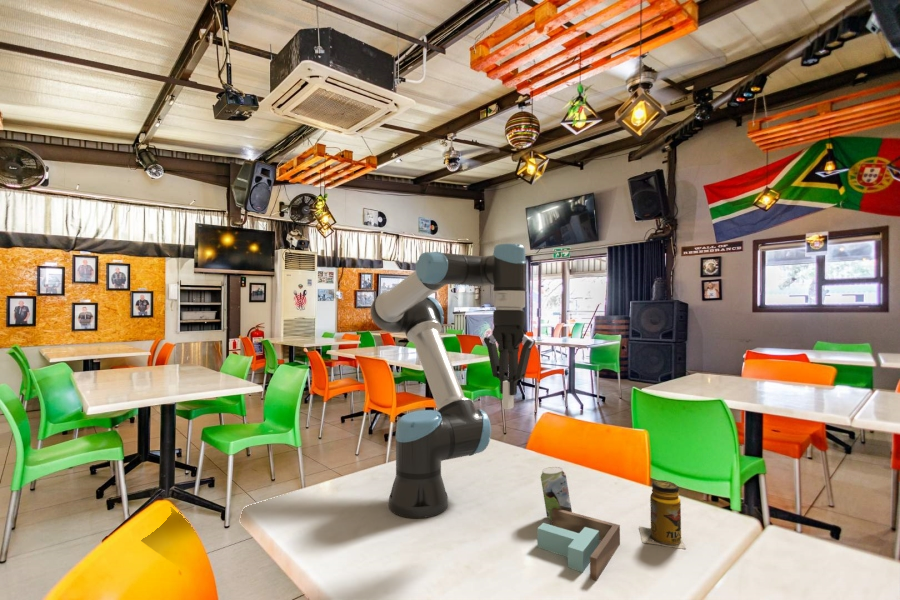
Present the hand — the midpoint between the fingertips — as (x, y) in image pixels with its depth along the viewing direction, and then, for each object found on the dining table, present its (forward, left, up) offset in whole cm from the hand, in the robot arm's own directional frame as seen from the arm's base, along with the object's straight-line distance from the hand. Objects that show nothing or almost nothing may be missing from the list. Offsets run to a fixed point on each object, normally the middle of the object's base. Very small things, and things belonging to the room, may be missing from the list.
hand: (508, 408), depth 106 cm
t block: (+16, -4, -27) cm, 32 cm away
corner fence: (+16, -3, -27) cm, 32 cm away
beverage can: (+8, +9, -27) cm, 30 cm away
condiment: (+31, +14, -27) cm, 43 cm away
